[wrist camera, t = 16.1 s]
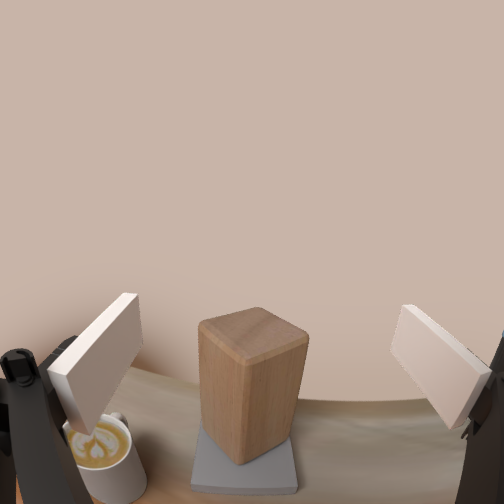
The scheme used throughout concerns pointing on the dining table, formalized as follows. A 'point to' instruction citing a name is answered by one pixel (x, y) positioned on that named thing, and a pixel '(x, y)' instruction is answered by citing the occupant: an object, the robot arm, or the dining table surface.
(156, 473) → the dining table surface
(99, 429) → the coffee mug
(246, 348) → the block
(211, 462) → the stand
